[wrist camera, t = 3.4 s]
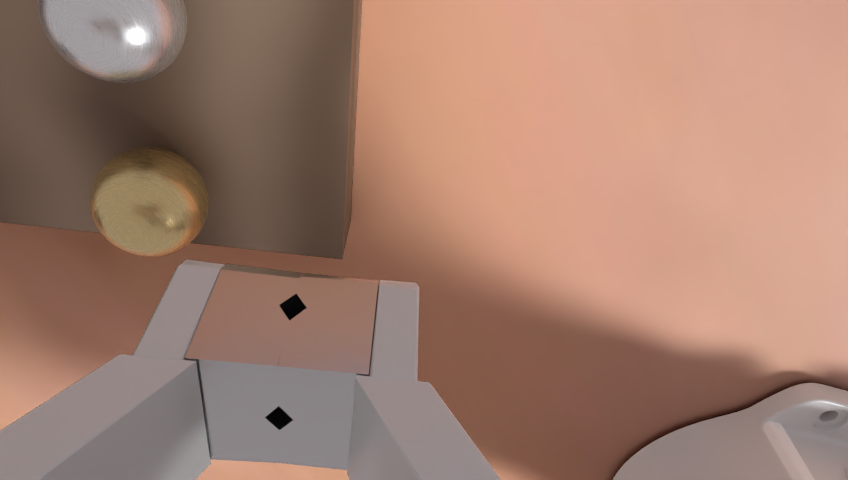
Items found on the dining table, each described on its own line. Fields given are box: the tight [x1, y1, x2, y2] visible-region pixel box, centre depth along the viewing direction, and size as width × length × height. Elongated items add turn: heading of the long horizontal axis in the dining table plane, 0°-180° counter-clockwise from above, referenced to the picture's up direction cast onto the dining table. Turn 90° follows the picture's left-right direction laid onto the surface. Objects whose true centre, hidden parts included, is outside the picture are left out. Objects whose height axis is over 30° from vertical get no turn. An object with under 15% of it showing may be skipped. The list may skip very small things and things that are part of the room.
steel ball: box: [37, 0, 187, 83], centre depth 16 cm, size 4×4×4 cm
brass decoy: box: [89, 147, 209, 257], centre depth 20 cm, size 4×4×4 cm
